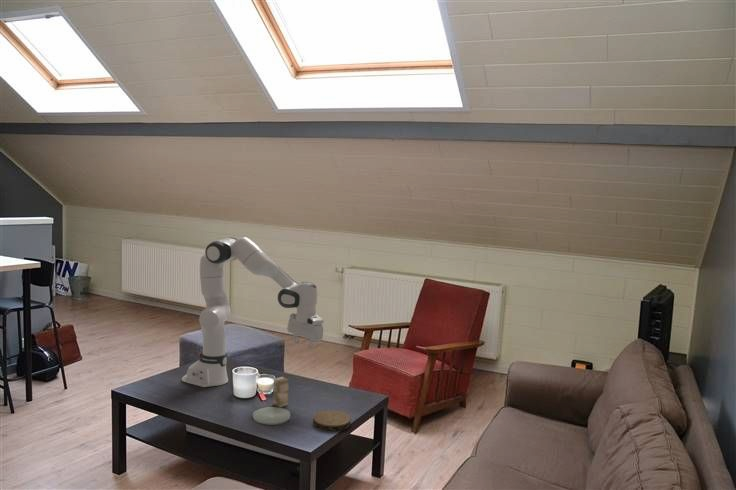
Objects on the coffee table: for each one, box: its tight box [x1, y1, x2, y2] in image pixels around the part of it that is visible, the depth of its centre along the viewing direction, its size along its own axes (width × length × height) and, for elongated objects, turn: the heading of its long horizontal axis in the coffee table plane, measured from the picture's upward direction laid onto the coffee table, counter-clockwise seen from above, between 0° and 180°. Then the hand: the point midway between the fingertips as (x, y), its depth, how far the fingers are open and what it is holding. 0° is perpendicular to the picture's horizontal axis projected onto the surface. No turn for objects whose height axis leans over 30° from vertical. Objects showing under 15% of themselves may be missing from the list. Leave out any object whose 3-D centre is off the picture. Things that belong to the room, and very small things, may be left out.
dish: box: [252, 406, 291, 426], centre depth 256 cm, size 16×16×1 cm
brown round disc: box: [312, 409, 352, 433], centre depth 253 cm, size 16×16×3 cm
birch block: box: [272, 376, 290, 408], centre depth 269 cm, size 5×5×12 cm
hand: (303, 346), depth 277 cm, fingers open, 8 cm apart
